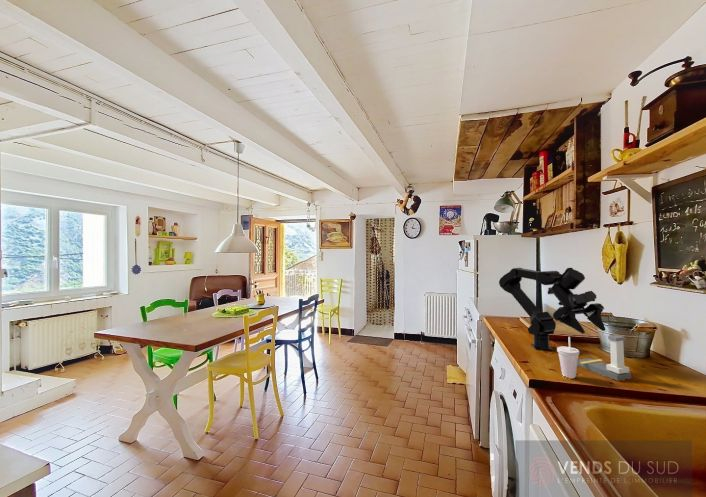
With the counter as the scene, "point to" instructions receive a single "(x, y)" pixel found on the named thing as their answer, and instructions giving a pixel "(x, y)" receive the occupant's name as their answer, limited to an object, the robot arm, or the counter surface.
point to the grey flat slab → (602, 369)
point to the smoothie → (568, 360)
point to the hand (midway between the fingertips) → (594, 331)
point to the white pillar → (617, 355)
